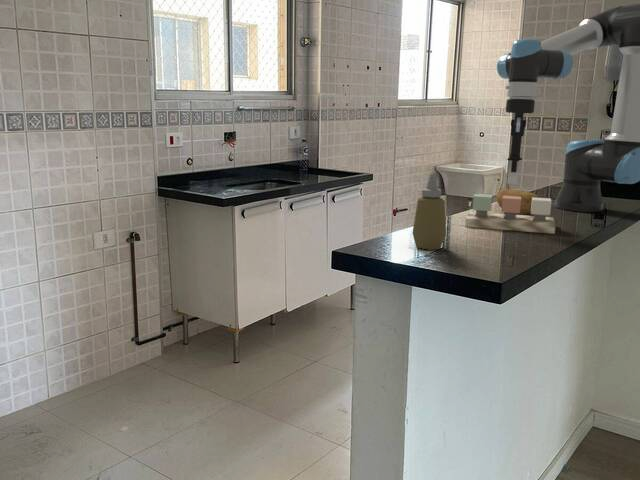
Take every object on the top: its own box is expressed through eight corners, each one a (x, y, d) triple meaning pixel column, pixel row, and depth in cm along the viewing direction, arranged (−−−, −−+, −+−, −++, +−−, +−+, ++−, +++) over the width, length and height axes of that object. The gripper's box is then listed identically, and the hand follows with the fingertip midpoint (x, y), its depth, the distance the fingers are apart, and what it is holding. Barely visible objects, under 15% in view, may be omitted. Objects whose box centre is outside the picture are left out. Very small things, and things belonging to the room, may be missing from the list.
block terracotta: (519, 217, 175) (521, 196, 174) (519, 220, 170) (521, 199, 169) (501, 216, 176) (503, 195, 175) (500, 219, 172) (502, 198, 170)
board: (552, 225, 176) (553, 217, 175) (554, 233, 165) (555, 225, 164) (468, 219, 183) (469, 211, 182) (465, 226, 172) (465, 218, 171)
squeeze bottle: (423, 253, 141) (427, 176, 137) (405, 245, 149) (409, 172, 144) (451, 250, 144) (457, 175, 140) (432, 242, 152) (437, 171, 148)
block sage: (490, 215, 177) (492, 194, 176) (489, 218, 173) (491, 197, 171) (473, 214, 179) (474, 193, 177) (471, 217, 174) (473, 196, 173)
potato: (530, 220, 184) (533, 194, 182) (489, 213, 193) (491, 188, 191) (545, 216, 190) (547, 191, 188) (504, 210, 200) (506, 186, 198)
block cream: (548, 219, 173) (550, 198, 171) (549, 223, 168) (551, 201, 167) (530, 218, 174) (532, 197, 173) (530, 221, 169) (532, 200, 168)
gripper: (507, 98, 173) (499, 180, 178) (506, 97, 161) (497, 185, 166) (534, 99, 171) (525, 181, 176) (535, 98, 158) (526, 187, 164)
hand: (512, 183), depth 171 cm, fingers closed
